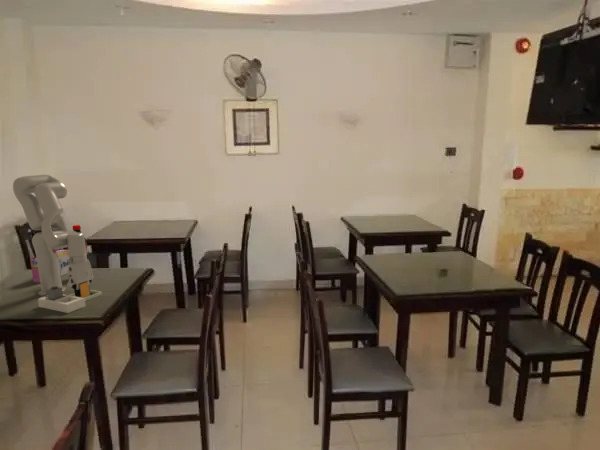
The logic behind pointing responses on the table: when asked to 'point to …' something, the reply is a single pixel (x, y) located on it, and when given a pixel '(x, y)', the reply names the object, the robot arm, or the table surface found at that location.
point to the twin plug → (54, 293)
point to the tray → (95, 294)
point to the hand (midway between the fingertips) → (82, 294)
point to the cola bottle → (77, 229)
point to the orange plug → (84, 289)
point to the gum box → (63, 263)
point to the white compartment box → (62, 303)
